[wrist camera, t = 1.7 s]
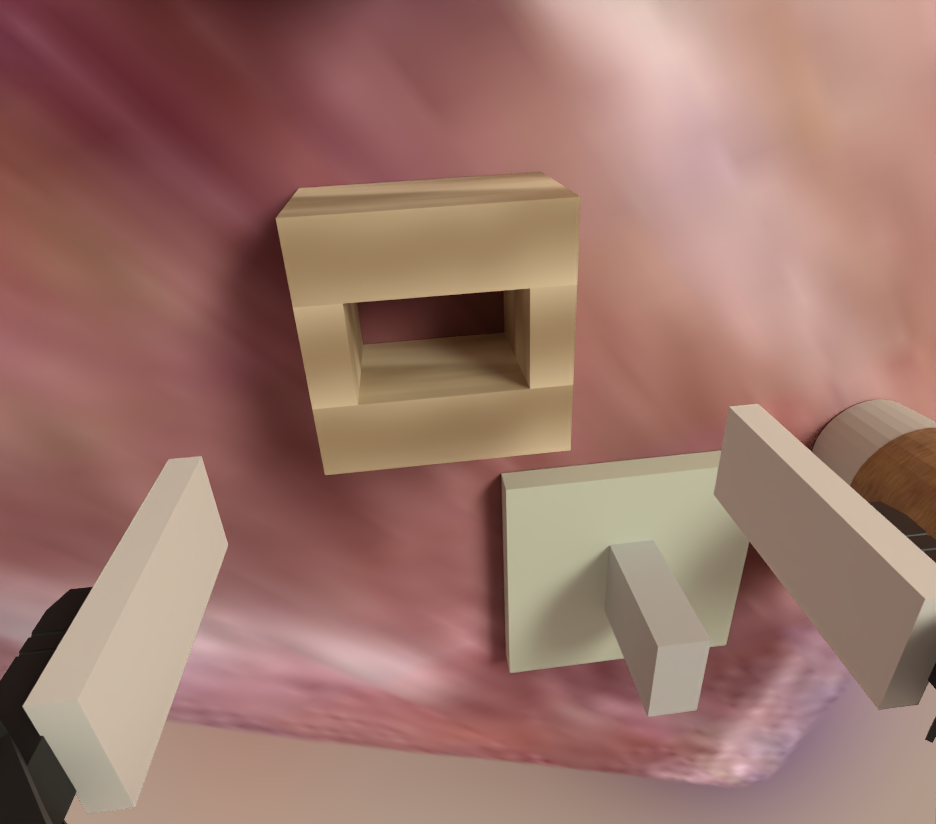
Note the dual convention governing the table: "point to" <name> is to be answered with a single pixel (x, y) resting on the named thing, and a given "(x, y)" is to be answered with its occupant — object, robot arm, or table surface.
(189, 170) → the table surface
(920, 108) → the table surface
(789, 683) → the table surface
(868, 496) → the coffee cup
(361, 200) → the collar
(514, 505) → the base
